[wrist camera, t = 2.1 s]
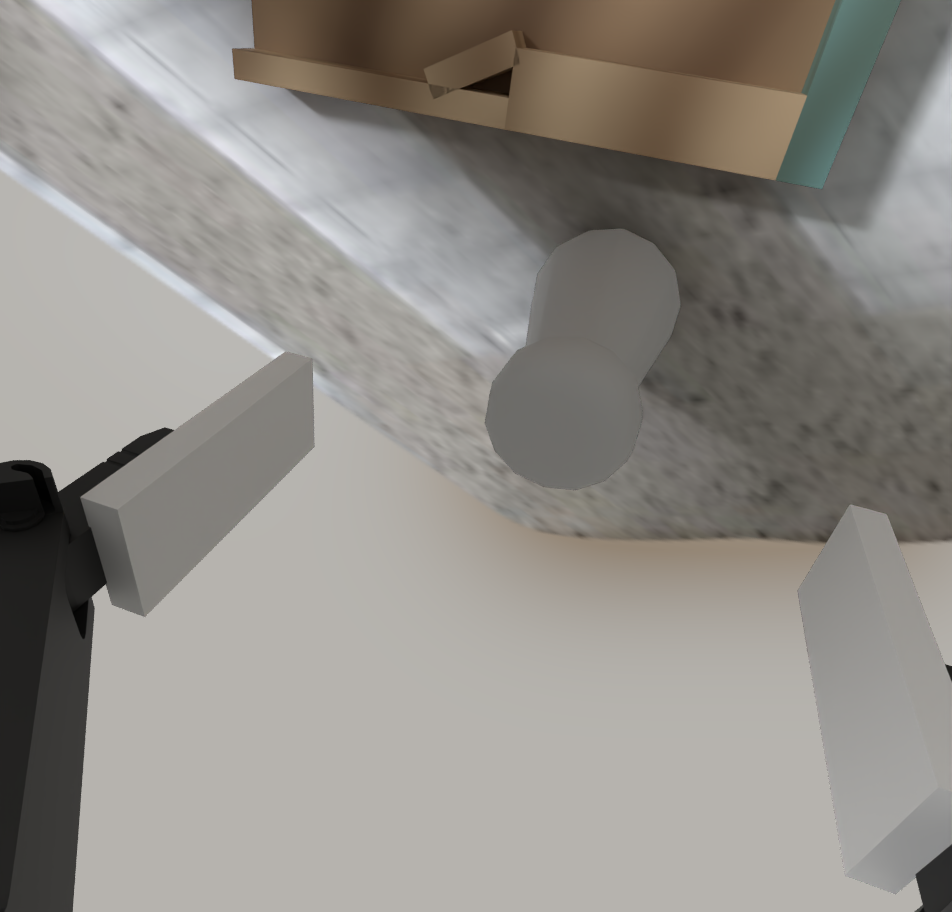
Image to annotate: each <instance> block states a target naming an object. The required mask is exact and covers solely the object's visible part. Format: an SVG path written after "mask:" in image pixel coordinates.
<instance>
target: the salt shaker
mask: <svg viewBox="0 0 952 912" xmlns="http://www.w3.org/2000/svg"><path fill="white" fill-rule="evenodd" d="M680 306H681V303H680V297H679V290H678V283H677V277H676V271H675V270H674V268H673V267H672V266H671V264H670V263H669V262H668V261H667V259H666V258H665V257H664V256H663V254H662V253H661V252H660V251H659V249H658V248H657V247H656V246H655V244H654V243H652V242H650V241H648V240H646V239H644V238H642V237H640V236H638V235H636V234H634V233H632V232H630V231H628V230H626V229H606V230H590V231H587V232H585V233H583V234H581V235H579V236H577V237H575V238H573V239H571V240H569V241H567V242H565V243H563V244H561V245H559V246H557V247H556V248H555V250H554V251H553V252H552V254H551V255H550V257H549V258H548V259H547V261H546V262H545V264H544V265H543V267H542V268H541V269H540V271H539V272H538V274H537V279H536V284H535V289H534V294H533V299H532V304H531V311H530V318H529V325H528V333H527V340H526V347H523V348H521V349H519V350H517V351H516V353H515V354H514V355H513V356H512V357H511V359H510V360H509V361H508V363H507V364H506V365H505V367H504V368H503V369H502V370H501V372H500V373H499V374H498V376H497V377H496V378H495V380H494V381H493V382H492V386H491V390H490V395H489V401H488V407H487V413H486V419H485V425H486V428H487V431H488V433H489V436H490V439H491V442H492V445H493V448H494V450H495V452H496V453H497V454H498V455H499V456H500V457H501V458H502V459H503V460H504V462H505V463H506V464H507V465H508V466H509V467H510V468H511V469H512V470H513V472H514V473H515V474H518V475H520V476H522V477H524V478H526V479H528V480H530V481H532V482H534V483H537V484H539V485H541V486H543V487H549V488H559V489H569V490H578V489H581V488H584V487H587V486H590V485H593V484H597V483H600V482H603V481H605V480H606V479H607V478H609V477H610V476H611V475H612V474H613V473H614V472H615V471H616V470H617V469H619V468H620V467H621V466H622V465H623V464H624V463H625V462H626V461H627V460H628V458H629V457H630V455H631V453H632V451H633V449H634V445H635V442H636V439H637V436H638V432H639V429H640V426H641V423H642V411H643V410H642V405H641V400H640V394H639V389H638V387H639V385H640V383H641V382H642V380H643V379H644V377H645V376H646V374H647V373H648V371H649V370H650V368H651V366H652V365H653V363H654V362H655V360H656V359H657V357H658V356H659V354H660V353H661V351H662V349H663V348H664V346H665V345H666V343H667V342H668V340H669V339H670V337H671V335H672V332H673V328H674V325H675V322H676V319H677V316H678V313H679V309H680Z"/></svg>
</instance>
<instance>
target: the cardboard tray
mask: <svg viewBox="0 0 952 912" xmlns="http://www.w3.org/2000/svg"><path fill="white" fill-rule="evenodd" d="M900 2H901V0H252V15H253V31H254V47H255V48H243V49H232V53H233V65H234V78H235V79H238V80H244V81H249V82H254V83H259V84H265V85H270V86H275V87H281V88H286V89H291V90H297V91H302V92H307V93H313V94H318V95H323V96H329V97H334V98H339V99H345V100H350V101H355V102H361V103H366V104H371V105H377V106H382V107H387V108H392V109H398V110H403V111H408V112H414V113H419V114H424V115H430V116H435V117H440V118H446V119H451V120H456V121H462V122H467V123H472V124H478V125H483V126H488V127H494V128H499V129H504V130H510V131H515V132H520V133H525V134H531V135H536V136H541V137H547V138H552V139H557V140H563V141H568V142H573V143H579V144H584V145H589V146H595V147H600V148H605V149H611V150H616V151H621V152H627V153H632V154H637V155H643V156H648V157H653V158H659V159H664V160H669V161H674V162H680V163H685V164H690V165H696V166H701V167H706V168H712V169H717V170H722V171H728V172H733V173H738V174H744V175H749V176H754V177H760V178H765V179H770V180H776V181H781V182H786V183H792V184H797V185H802V186H807V187H813V188H818V189H822V188H823V186H824V183H825V181H826V178H827V176H828V174H829V171H830V169H831V166H832V164H833V162H834V159H835V157H836V154H837V152H838V150H839V147H840V145H841V143H842V140H843V138H844V135H845V133H846V131H847V128H848V126H849V123H850V121H851V119H852V116H853V114H854V111H855V109H856V107H857V104H858V102H859V100H860V97H861V95H862V92H863V90H864V88H865V85H866V83H867V80H868V78H869V76H870V73H871V71H872V69H873V66H874V64H875V61H876V59H877V57H878V54H879V52H880V49H881V47H882V45H883V42H884V40H885V37H886V35H887V33H888V30H889V28H890V26H891V23H892V21H893V18H894V16H895V14H896V11H897V9H898V6H899V4H900Z"/></svg>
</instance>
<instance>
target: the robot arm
mask: <svg viewBox="0 0 952 912" xmlns="http://www.w3.org/2000/svg"><path fill="white" fill-rule="evenodd" d="M313 408H314V405H313V360H312V358H308V357H305V356H301V355H297V354H294V353H290V352H284V353H283V354H281V355H280V356H279V357H277V358H276V359H274V360H273V361H271V362H270V363H269V364H267V365H266V366H264V367H263V368H262V369H260V370H259V371H257V372H256V373H255V374H253V375H252V376H250V377H249V378H248V379H246V380H245V381H243V382H242V383H240V384H239V385H238V386H236V387H235V388H234V389H232V390H231V391H229V392H228V393H226V394H225V395H224V396H222V397H221V398H220V399H218V400H217V401H215V402H214V403H212V404H211V405H210V406H208V407H207V408H205V409H204V410H202V411H201V412H200V413H198V414H197V415H195V416H194V417H193V418H191V419H190V420H188V421H187V422H185V423H184V424H183V425H181V426H180V427H179V428H177V429H176V430H172V429H168V428H162V429H159V430H156V431H154V432H151V433H149V434H145V435H143V436H140V437H139V438H137V439H136V440H135V441H133V442H131V443H130V444H129V445H127V446H126V447H124V448H123V449H122V451H121V452H117V453H115V454H114V455H112V456H111V457H109V458H108V459H107V461H106V462H102V463H100V464H99V465H97V466H96V467H95V468H93V469H92V470H90V471H89V472H87V473H86V474H84V475H83V476H81V477H80V478H78V479H77V480H75V481H74V482H72V483H71V484H69V485H68V486H67V487H65V488H64V489H62V490H61V491H59V492H58V491H57V488H56V485H55V482H54V478H53V476H52V472H51V469H50V468H48V467H47V466H46V465H44V464H43V463H39V462H35V461H31V460H15V461H14V460H13V461H8V462H3V463H0V912H73V897H74V884H75V871H76V856H77V843H78V829H79V816H80V802H81V787H82V773H83V760H84V745H85V733H86V719H87V705H88V692H89V677H90V663H91V650H92V636H93V623H94V605H93V600H92V596H93V595H94V594H95V593H96V592H97V591H98V590H99V589H101V588H102V587H103V586H104V585H105V584H106V586H107V590H108V593H109V597H110V600H111V603H112V605H114V606H117V607H119V608H122V609H125V610H128V611H130V612H133V613H136V614H138V615H141V616H144V617H145V616H146V615H147V614H148V613H149V612H150V611H151V610H152V609H153V608H154V607H155V606H156V605H157V604H158V603H159V602H160V601H161V600H162V599H163V598H164V597H165V596H166V595H167V594H168V593H169V592H170V591H171V590H172V589H173V588H174V587H175V586H176V585H177V584H178V583H179V582H180V581H181V580H182V579H183V578H184V577H185V576H186V575H187V574H188V573H189V572H190V571H191V570H192V569H193V568H194V567H195V566H196V565H197V564H198V563H199V562H200V561H201V560H202V559H203V558H204V557H205V556H206V555H207V554H208V553H209V552H210V551H211V550H212V549H213V548H214V547H215V546H216V545H217V544H218V543H219V542H220V541H221V540H222V539H223V538H224V537H225V536H226V535H227V534H228V533H229V532H230V531H231V530H232V529H233V528H234V527H235V526H236V525H237V524H238V523H239V522H240V521H241V520H242V519H243V518H244V517H245V516H246V515H247V514H248V513H249V512H250V511H251V510H252V509H253V508H254V507H255V506H256V505H257V504H258V503H259V502H260V501H261V500H262V499H263V498H264V497H265V496H266V495H267V494H268V493H269V492H270V491H271V490H272V489H273V488H274V487H275V486H276V485H277V484H278V483H279V482H280V481H281V480H282V479H283V478H284V477H285V476H286V475H287V474H288V473H289V472H290V471H291V470H292V469H293V468H294V467H295V466H296V465H297V464H298V463H299V462H300V461H301V460H302V459H303V458H304V457H305V456H306V455H307V454H308V453H309V452H310V451H311V450H312V449H313V448H314V409H313ZM798 597H799V602H800V608H801V614H802V621H803V627H804V633H805V638H806V644H807V651H808V657H809V663H810V669H811V675H812V681H813V687H814V693H815V698H816V705H817V711H818V717H819V723H820V729H821V735H822V741H823V747H824V753H825V759H826V765H827V771H828V777H829V783H830V789H831V795H832V801H833V807H834V813H835V819H836V825H837V831H838V837H839V843H840V849H841V855H842V862H843V868H844V874H845V876H847V877H850V878H853V879H856V880H859V881H861V882H864V883H866V884H869V885H872V886H875V887H877V888H880V889H883V890H886V891H888V892H891V893H894V894H897V893H898V892H899V891H900V890H901V889H903V888H904V887H905V886H906V885H907V884H909V883H910V882H911V881H912V880H913V879H915V878H916V879H917V883H918V887H919V891H920V894H921V899H922V902H923V905H922V906H921V907H920V908H919V909H917V910H916V911H915V912H952V666H949V665H946V664H944V661H943V658H942V656H941V653H940V651H939V648H938V645H937V643H936V640H935V638H934V635H933V633H932V630H931V627H930V625H929V622H928V620H927V617H926V615H925V612H924V609H923V607H922V604H921V602H920V599H919V597H918V594H917V591H916V589H915V586H914V583H913V581H912V578H911V576H910V573H909V570H908V568H907V565H906V563H905V560H904V558H903V555H902V552H901V550H900V547H899V544H898V542H897V539H896V537H895V534H894V532H893V529H892V526H891V524H890V521H889V519H888V516H887V514H884V513H881V512H877V511H873V510H870V509H866V508H862V507H859V506H855V505H851V504H850V505H849V506H848V508H847V510H846V511H845V513H844V515H843V516H842V518H841V520H840V521H839V523H838V525H837V526H836V528H835V530H834V531H833V533H832V535H831V536H830V538H829V539H828V541H827V543H826V544H825V546H824V548H823V549H822V551H821V553H820V554H819V556H818V558H817V559H816V561H815V563H814V564H813V566H812V568H811V569H810V571H809V573H808V574H807V576H806V578H805V579H804V581H803V583H802V584H801V586H800V588H799V589H798Z"/></svg>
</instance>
